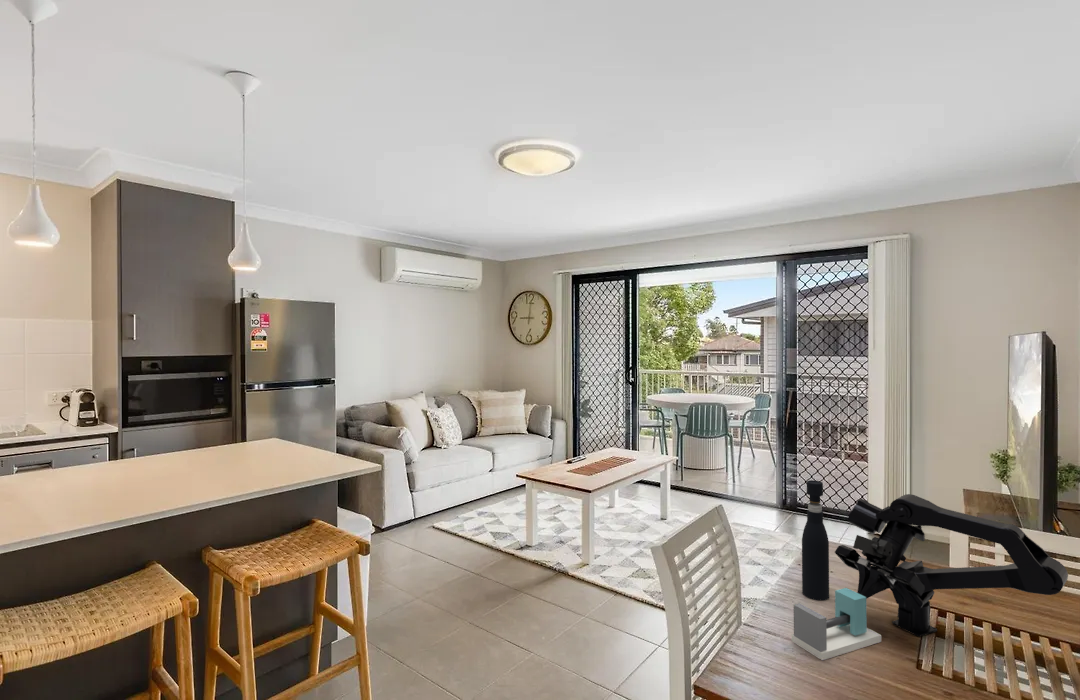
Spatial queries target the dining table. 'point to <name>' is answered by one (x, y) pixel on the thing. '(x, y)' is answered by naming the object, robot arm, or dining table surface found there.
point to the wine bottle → (815, 548)
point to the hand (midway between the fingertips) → (859, 599)
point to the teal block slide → (827, 634)
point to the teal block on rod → (851, 609)
